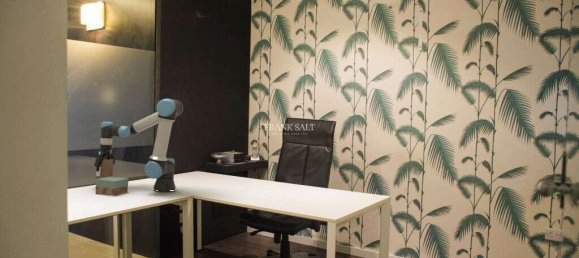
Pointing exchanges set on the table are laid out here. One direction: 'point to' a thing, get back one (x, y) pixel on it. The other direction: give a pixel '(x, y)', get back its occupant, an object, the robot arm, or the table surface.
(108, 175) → the block
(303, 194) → the table surface
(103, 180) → the tower top
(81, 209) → the table surface
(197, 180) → the table surface
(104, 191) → the tower base
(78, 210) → the table surface
